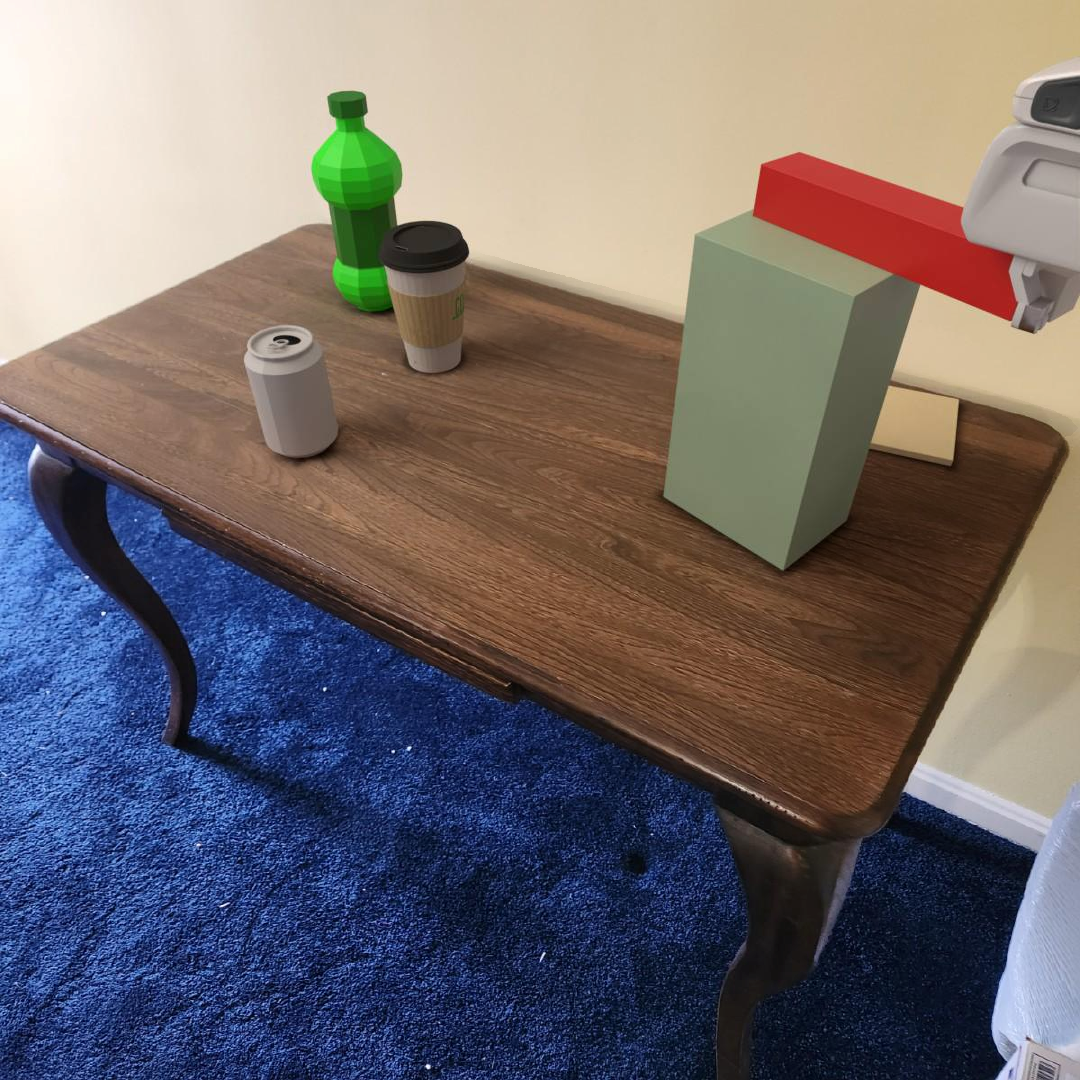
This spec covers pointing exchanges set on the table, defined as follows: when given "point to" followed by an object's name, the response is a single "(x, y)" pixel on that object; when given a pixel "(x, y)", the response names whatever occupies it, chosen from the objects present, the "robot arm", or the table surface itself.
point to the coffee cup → (427, 290)
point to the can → (291, 391)
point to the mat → (917, 425)
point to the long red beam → (897, 233)
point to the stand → (779, 384)
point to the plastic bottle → (358, 200)
